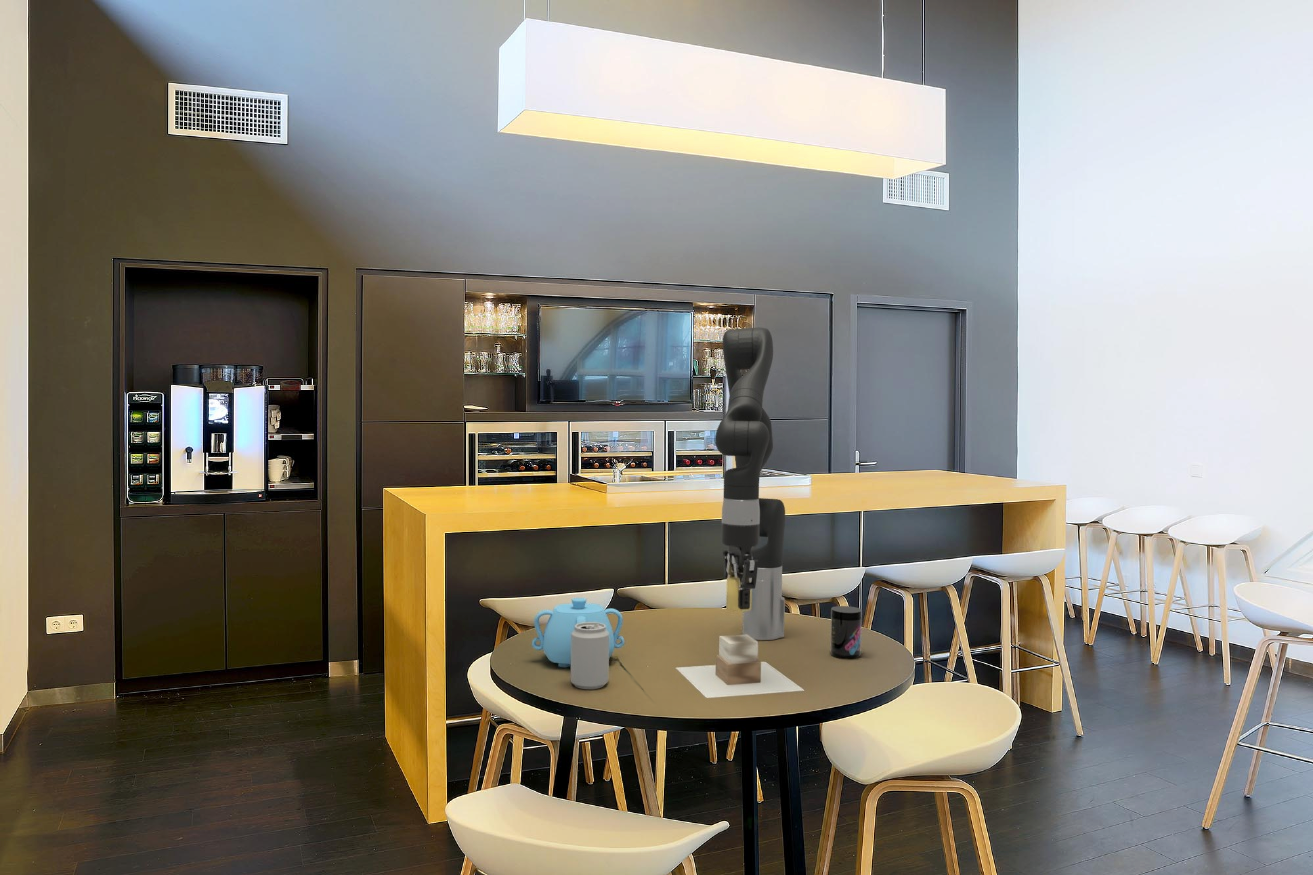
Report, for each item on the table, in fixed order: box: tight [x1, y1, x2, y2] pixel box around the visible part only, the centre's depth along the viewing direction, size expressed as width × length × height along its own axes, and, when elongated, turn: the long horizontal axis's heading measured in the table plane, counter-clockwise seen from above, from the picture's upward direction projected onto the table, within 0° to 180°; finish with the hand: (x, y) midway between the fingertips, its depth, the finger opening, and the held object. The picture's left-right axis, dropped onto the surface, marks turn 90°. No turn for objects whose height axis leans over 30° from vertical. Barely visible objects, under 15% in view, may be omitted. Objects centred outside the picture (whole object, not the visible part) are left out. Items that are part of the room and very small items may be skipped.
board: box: [675, 661, 806, 699], centre depth 186 cm, size 20×20×1 cm
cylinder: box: [725, 576, 752, 612], centre depth 185 cm, size 5×5×6 cm
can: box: [570, 622, 610, 690], centre depth 184 cm, size 8×8×12 cm
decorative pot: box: [531, 597, 626, 668], centre depth 200 cm, size 16×16×14 cm
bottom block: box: [715, 654, 762, 685], centre depth 186 cm, size 7×7×4 cm
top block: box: [718, 634, 759, 664], centre depth 186 cm, size 6×6×4 cm
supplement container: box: [829, 605, 863, 660], centre depth 208 cm, size 7×7×10 cm
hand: (738, 605), depth 185 cm, fingers closed on cylinder, 5 cm apart
